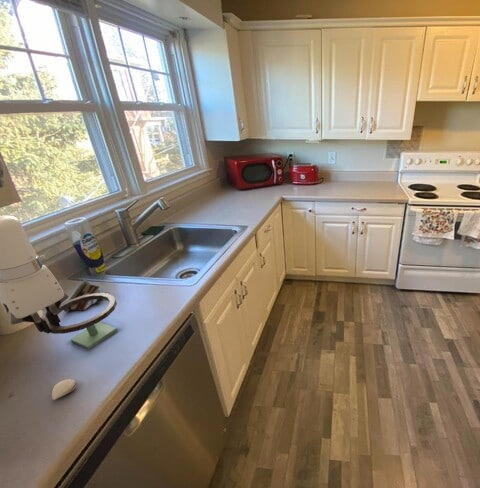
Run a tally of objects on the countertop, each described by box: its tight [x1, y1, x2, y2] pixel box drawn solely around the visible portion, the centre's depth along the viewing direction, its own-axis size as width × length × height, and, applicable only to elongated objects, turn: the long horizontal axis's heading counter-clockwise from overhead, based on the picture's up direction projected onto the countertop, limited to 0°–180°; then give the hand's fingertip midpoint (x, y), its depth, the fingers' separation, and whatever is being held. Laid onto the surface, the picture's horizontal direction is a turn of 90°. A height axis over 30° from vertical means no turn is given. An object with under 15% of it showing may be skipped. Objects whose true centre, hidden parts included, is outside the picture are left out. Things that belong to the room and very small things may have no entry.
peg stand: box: [70, 321, 118, 350], centre depth 82 cm, size 8×8×4 cm
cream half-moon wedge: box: [51, 378, 77, 400], centre depth 66 cm, size 4×5×2 cm
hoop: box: [42, 292, 118, 335], centre depth 79 cm, size 16×16×1 cm
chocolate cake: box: [63, 277, 106, 313], centre depth 98 cm, size 10×7×12 cm
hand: (51, 328), depth 73 cm, fingers closed on hoop, 1 cm apart
